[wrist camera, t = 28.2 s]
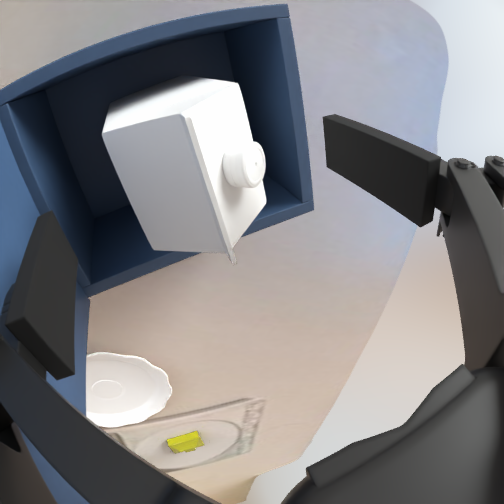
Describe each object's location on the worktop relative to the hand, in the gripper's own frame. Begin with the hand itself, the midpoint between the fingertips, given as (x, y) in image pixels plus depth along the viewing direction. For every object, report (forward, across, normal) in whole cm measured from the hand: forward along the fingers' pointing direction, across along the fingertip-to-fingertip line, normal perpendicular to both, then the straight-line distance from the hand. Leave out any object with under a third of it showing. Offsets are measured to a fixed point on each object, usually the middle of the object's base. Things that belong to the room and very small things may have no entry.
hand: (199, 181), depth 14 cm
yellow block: (+18, -17, -62) cm, 67 cm away
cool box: (+18, 0, 0) cm, 19 cm away
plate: (+18, -21, -34) cm, 44 cm away
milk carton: (+18, 0, 0) cm, 18 cm away
